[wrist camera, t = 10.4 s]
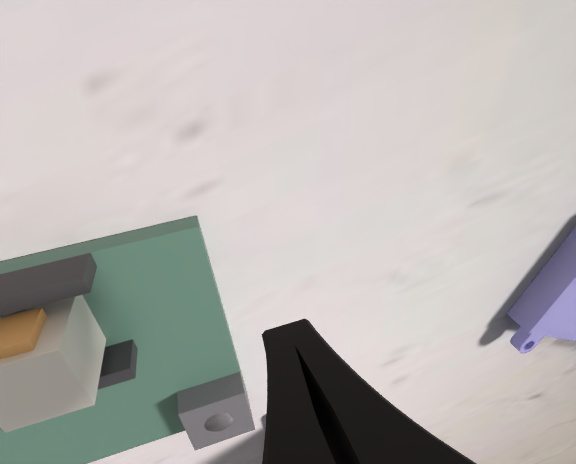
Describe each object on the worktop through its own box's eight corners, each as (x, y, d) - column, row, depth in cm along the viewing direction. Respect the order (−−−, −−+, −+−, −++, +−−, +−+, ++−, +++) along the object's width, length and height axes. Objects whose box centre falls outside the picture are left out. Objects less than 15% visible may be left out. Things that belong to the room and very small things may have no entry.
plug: (106, 339, 20) (94, 404, 16) (33, 359, 19) (5, 432, 16) (73, 279, 17) (52, 341, 14) (-11, 300, 17) (-53, 370, 13)
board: (247, 393, 27) (256, 434, 24) (-10, 478, 24) (-32, 536, 21) (196, 215, 19) (202, 248, 16) (-200, 308, 16) (-273, 367, 13)
